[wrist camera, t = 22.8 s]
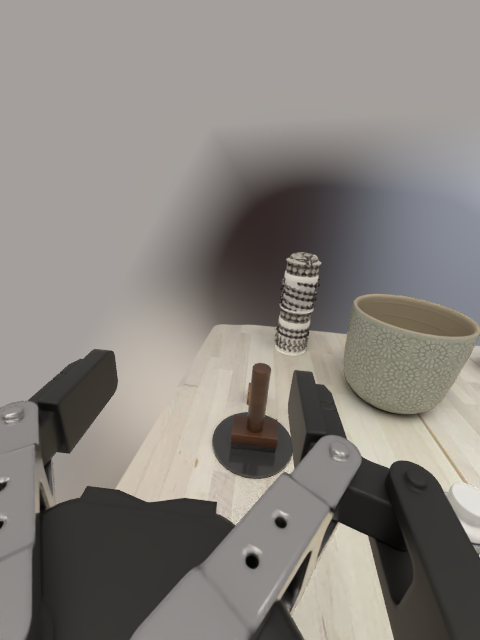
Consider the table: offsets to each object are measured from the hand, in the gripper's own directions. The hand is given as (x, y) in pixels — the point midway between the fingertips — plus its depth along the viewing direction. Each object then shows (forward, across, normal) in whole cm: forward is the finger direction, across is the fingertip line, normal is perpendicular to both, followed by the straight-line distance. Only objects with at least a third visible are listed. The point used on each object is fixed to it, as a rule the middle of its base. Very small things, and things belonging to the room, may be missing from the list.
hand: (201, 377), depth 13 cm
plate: (+24, -4, +30) cm, 39 cm away
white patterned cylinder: (+58, -13, +30) cm, 66 cm away
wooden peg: (+24, -4, +29) cm, 38 cm away
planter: (+41, -32, +30) cm, 60 cm away
